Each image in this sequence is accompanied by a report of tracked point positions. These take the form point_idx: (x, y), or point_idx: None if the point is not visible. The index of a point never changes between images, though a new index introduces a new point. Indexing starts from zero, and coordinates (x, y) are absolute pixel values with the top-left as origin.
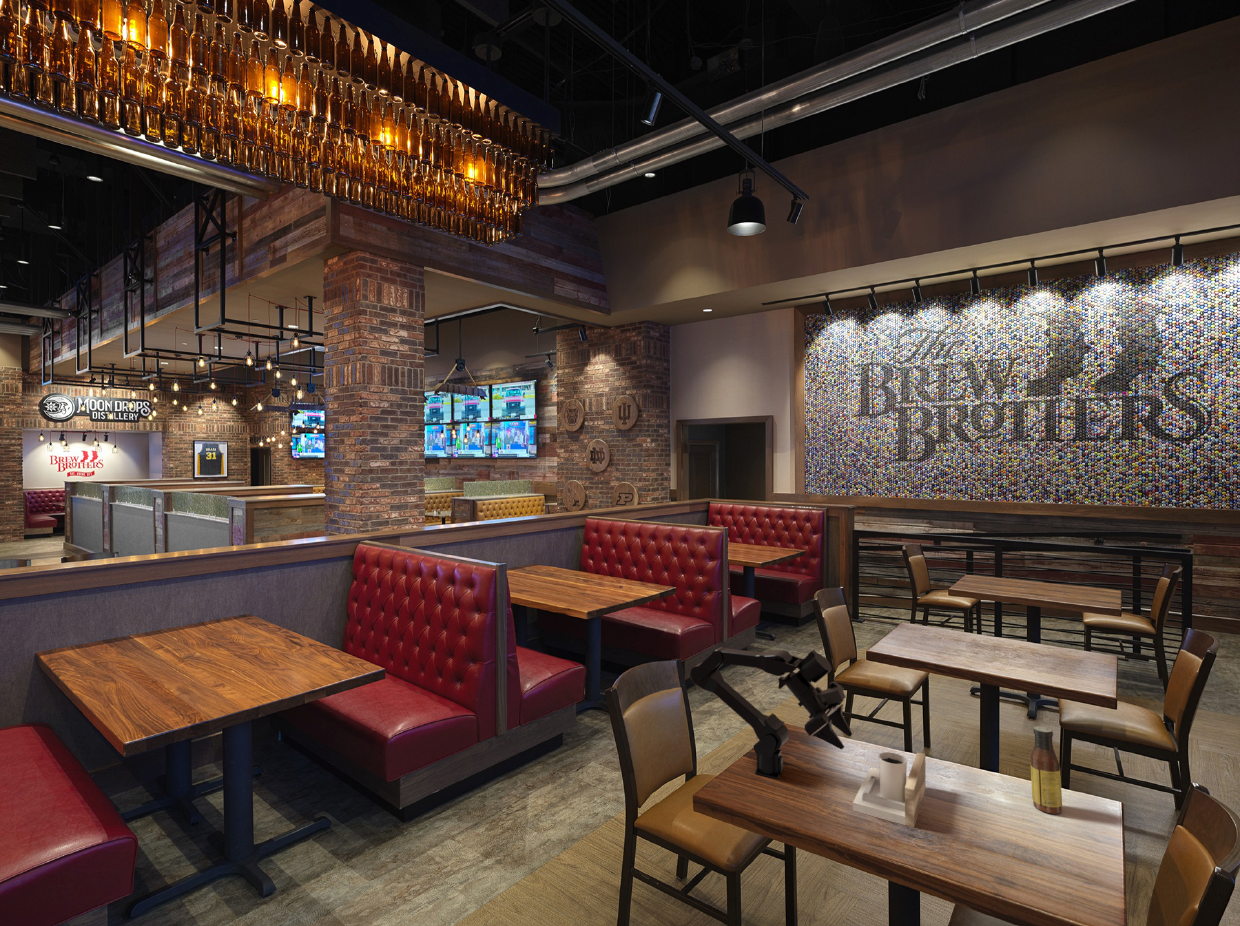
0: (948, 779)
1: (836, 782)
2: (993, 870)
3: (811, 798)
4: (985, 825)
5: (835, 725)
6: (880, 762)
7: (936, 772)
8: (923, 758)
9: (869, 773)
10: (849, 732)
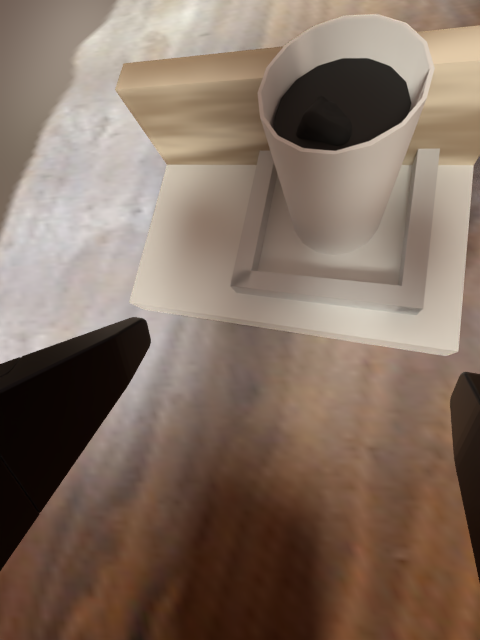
0: (119, 119)
1: (237, 423)
2: None
3: (424, 536)
4: None
5: (63, 468)
6: (384, 153)
7: (88, 147)
8: (164, 60)
9: (177, 302)
10: (133, 335)
